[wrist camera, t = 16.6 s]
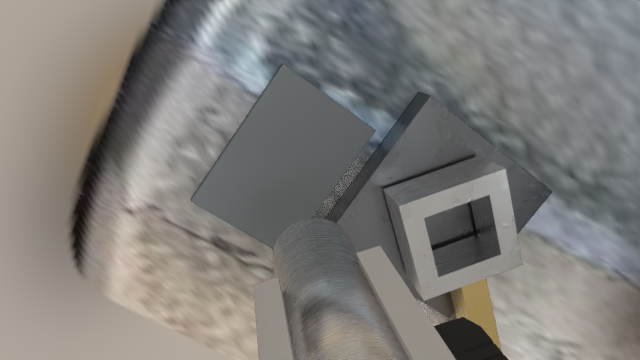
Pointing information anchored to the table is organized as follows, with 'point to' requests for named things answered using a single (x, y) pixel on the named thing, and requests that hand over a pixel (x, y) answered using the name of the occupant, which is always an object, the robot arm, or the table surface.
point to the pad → (282, 159)
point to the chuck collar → (465, 255)
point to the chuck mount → (417, 160)
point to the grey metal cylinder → (330, 296)
